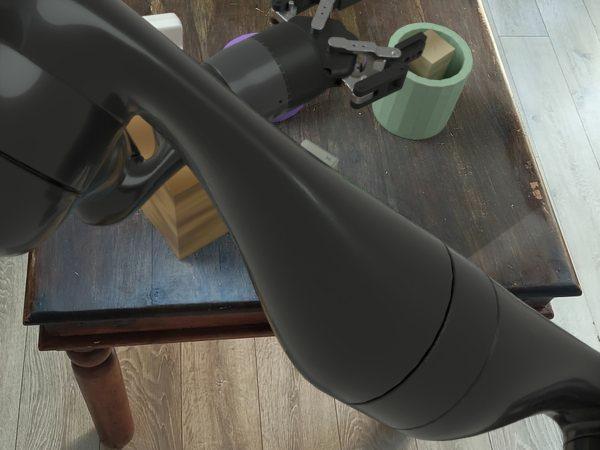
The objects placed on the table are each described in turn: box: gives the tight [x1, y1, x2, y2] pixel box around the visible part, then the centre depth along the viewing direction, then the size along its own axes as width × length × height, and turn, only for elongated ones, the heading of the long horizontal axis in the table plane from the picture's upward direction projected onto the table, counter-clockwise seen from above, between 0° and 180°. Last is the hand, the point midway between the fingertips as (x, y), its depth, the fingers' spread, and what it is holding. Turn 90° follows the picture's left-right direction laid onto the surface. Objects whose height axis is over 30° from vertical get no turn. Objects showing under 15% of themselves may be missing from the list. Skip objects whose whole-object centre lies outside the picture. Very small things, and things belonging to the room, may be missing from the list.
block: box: [407, 29, 455, 80], centre depth 86 cm, size 4×4×10 cm
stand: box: [127, 115, 229, 261], centre depth 74 cm, size 10×10×13 cm
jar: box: [371, 22, 474, 141], centre depth 86 cm, size 10×10×10 cm
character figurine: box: [141, 12, 184, 51], centre depth 82 cm, size 9×10×12 cm
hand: (394, 13), depth 69 cm, fingers open, 8 cm apart
